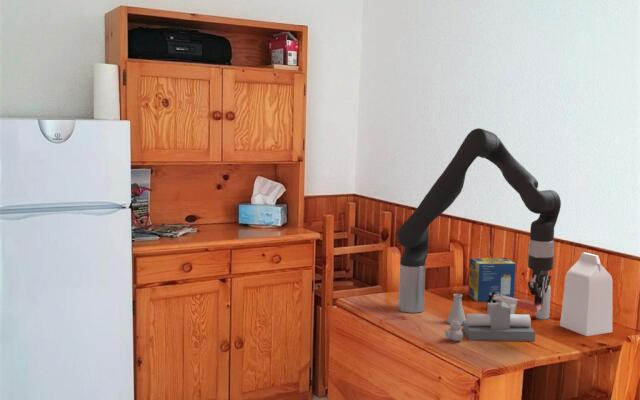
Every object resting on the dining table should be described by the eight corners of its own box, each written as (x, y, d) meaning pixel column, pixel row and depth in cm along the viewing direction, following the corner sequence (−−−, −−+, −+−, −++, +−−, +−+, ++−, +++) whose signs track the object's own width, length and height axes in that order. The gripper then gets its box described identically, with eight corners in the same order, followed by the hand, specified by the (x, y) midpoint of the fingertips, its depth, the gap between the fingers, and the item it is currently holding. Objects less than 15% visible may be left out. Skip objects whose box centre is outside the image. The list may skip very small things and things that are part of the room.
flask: (468, 320, 230) (469, 293, 229) (465, 326, 224) (467, 298, 223) (448, 318, 233) (448, 291, 232) (444, 324, 226) (445, 296, 225)
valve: (520, 316, 236) (499, 308, 247) (521, 299, 235) (499, 291, 246) (505, 318, 234) (484, 310, 245) (506, 300, 233) (485, 292, 244)
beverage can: (532, 316, 237) (534, 283, 236) (545, 315, 237) (547, 283, 236) (538, 320, 232) (540, 287, 231) (551, 319, 233) (553, 286, 231)
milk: (559, 325, 226) (563, 252, 223) (585, 322, 230) (589, 249, 227) (586, 336, 215) (591, 258, 212) (612, 332, 219) (617, 256, 216)
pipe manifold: (469, 339, 210) (470, 305, 209) (462, 329, 221) (463, 296, 219) (534, 340, 210) (536, 306, 208) (524, 330, 220) (526, 297, 219)
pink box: (492, 300, 214) (492, 293, 214) (498, 298, 216) (498, 292, 216) (535, 312, 201) (536, 305, 201) (542, 310, 203) (542, 303, 203)
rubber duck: (467, 341, 208) (468, 317, 207) (450, 344, 205) (451, 320, 204) (456, 336, 213) (457, 313, 212) (439, 339, 210) (440, 315, 209)
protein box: (468, 295, 265) (469, 257, 263) (504, 294, 267) (506, 257, 265) (476, 302, 255) (478, 263, 253) (514, 301, 256) (516, 262, 255)
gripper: (537, 248, 211) (535, 300, 214) (520, 255, 201) (518, 309, 204) (560, 252, 207) (557, 305, 209) (544, 259, 197) (541, 314, 199)
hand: (538, 307), depth 206 cm, fingers closed
